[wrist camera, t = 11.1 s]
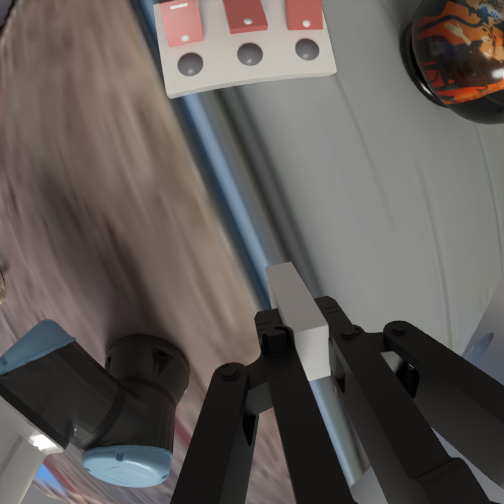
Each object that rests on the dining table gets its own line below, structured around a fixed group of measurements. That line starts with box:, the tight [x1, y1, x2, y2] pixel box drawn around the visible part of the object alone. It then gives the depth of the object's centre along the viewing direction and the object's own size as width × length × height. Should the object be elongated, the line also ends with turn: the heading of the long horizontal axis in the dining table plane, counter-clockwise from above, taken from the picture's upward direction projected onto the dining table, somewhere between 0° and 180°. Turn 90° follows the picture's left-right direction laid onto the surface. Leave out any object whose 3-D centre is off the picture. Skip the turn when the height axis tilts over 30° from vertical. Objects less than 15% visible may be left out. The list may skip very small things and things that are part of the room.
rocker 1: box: [159, 0, 204, 48], centre depth 29 cm, size 4×6×3 cm
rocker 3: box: [285, 0, 323, 30], centre depth 30 cm, size 4×6×3 cm
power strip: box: [153, 0, 337, 99], centre depth 33 cm, size 22×14×3 cm, turn 100°
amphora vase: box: [401, 0, 504, 124], centre depth 24 cm, size 22×22×28 cm
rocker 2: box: [222, 0, 268, 34], centre depth 29 cm, size 4×6×3 cm
